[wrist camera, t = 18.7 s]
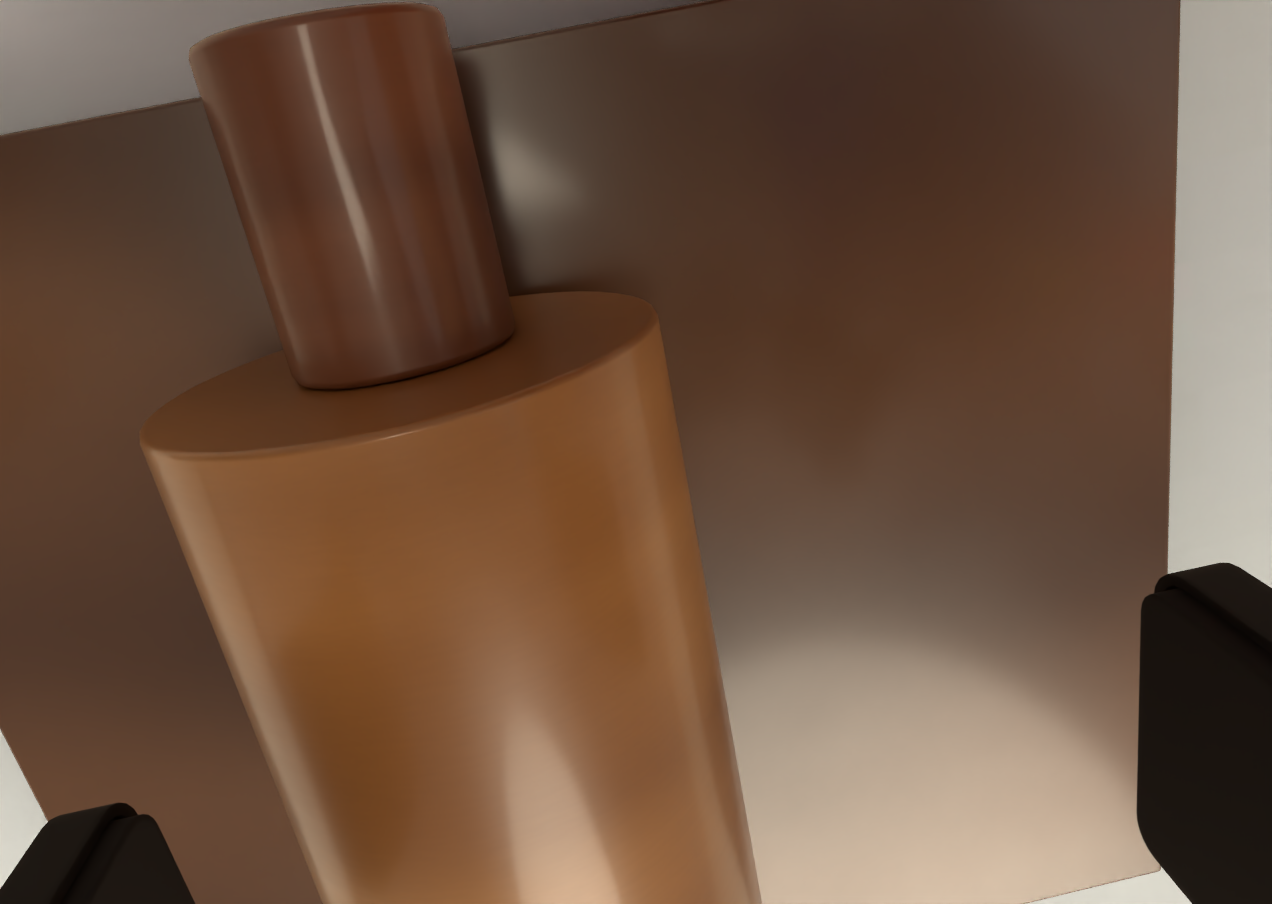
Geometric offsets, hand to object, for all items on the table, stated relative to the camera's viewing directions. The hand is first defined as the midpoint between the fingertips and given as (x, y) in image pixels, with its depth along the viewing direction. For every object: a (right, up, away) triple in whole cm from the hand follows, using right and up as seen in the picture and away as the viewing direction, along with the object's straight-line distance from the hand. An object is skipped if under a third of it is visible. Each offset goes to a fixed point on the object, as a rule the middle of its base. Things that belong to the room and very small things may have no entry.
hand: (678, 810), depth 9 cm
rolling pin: (-2, 0, +2) cm, 3 cm away
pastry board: (-1, +1, +5) cm, 5 cm away
